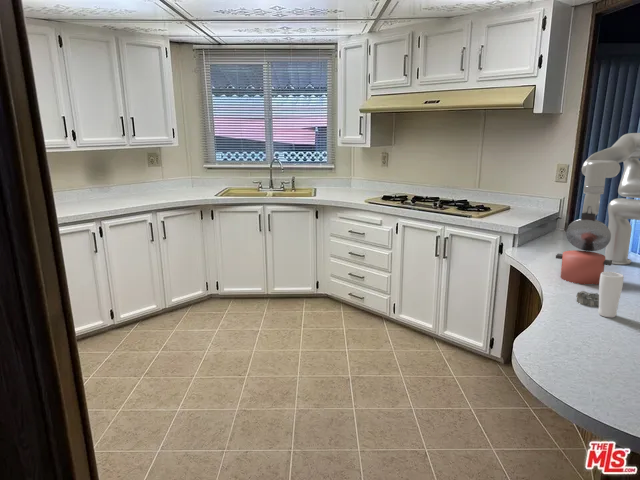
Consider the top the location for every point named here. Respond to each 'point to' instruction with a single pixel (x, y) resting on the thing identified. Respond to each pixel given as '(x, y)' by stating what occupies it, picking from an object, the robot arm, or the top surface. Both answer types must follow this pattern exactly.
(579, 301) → the egg carton
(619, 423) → the top surface
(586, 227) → the cooker lid
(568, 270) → the cooker pot
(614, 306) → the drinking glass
